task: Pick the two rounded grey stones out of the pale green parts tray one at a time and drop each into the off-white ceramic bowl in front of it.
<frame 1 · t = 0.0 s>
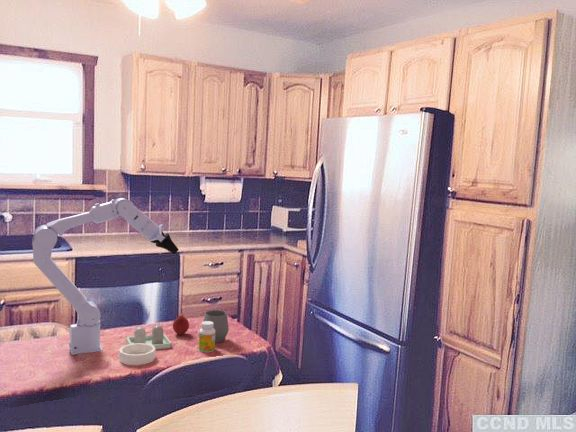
hand: (173, 249, 187), 32 cm above the table, tool tilted 50°, fingers open, 7 cm apart
onion: (180, 336, 196), on the table
stone a: (139, 345, 183), resting on tray
cup: (215, 341, 193), on the table
bowl: (137, 359, 171), on the table
tray: (148, 345, 184), on the table
supplement bottle: (206, 351, 182), on the table
stone b: (157, 343, 186), resting on tray
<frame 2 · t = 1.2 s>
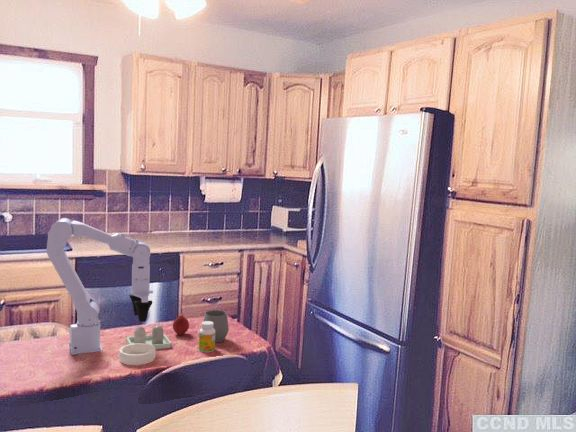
hand: (140, 318, 182), 10 cm above the table, tool pointing down, fingers open, 7 cm apart
nothing on the table moved.
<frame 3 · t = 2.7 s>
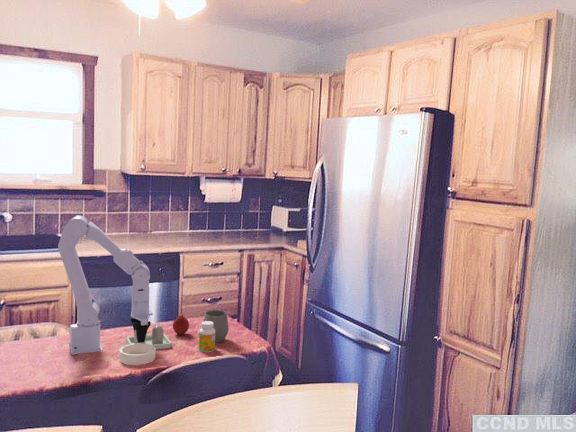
hand: (139, 339, 183), 2 cm above the table, tool pointing down, fingers closed on stone a, 4 cm apart
stone a: (139, 345, 183), point 1 cm above the table, touching gripper, tray
everything else where it was.
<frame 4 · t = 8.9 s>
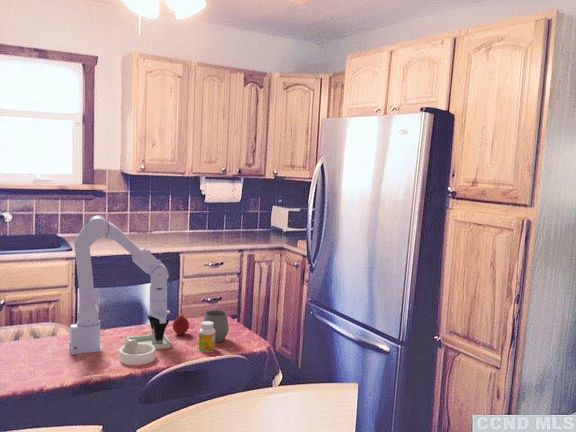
hand: (157, 338, 185), 2 cm above the table, tool pointing down, fingers closed on stone b, 4 cm apart
stone a: (130, 358, 170), point 1 cm above the table, touching bowl
stone b: (157, 343, 186), resting on tray, touching gripper
everything else where it was.
when the fingers open (5 cm above the table, at t = 11.9 s): stone b drops 2 cm, resting on bowl.
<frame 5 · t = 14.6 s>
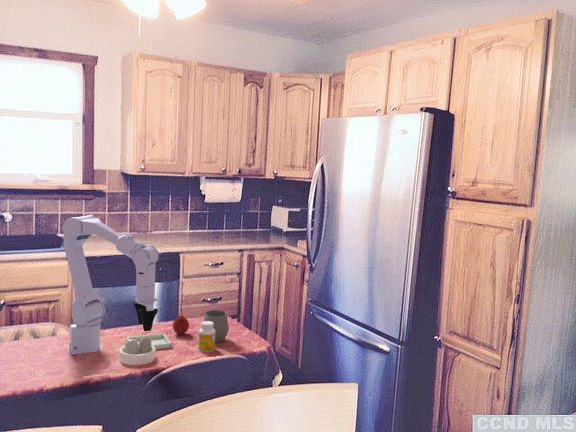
hand: (144, 327, 171), 10 cm above the table, tool pointing down, fingers open, 7 cm apart
stone b: (144, 356, 172), point 1 cm above the table, touching bowl
everything else where it was.
at the end: stone a 2.0 cm from the bowl (horizontally); stone b 2.4 cm from the bowl (horizontally); stone b point 0.6 cm above the table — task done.
